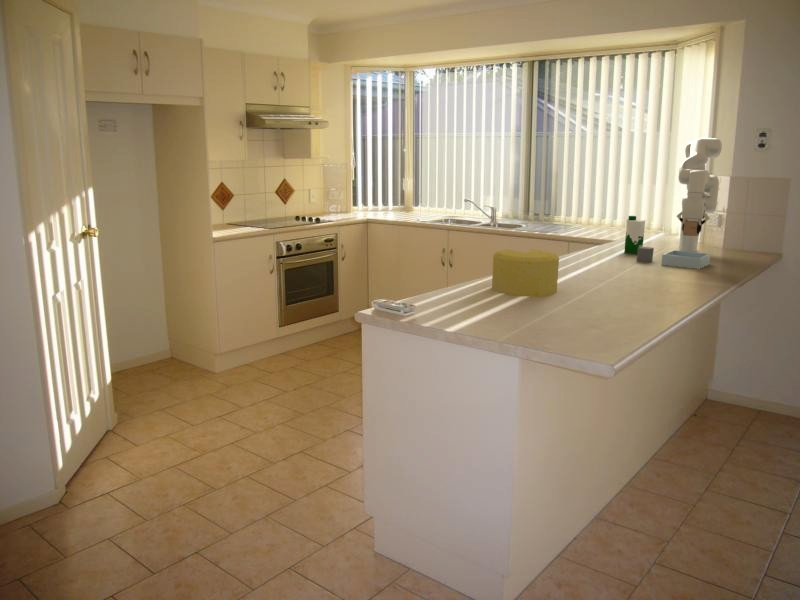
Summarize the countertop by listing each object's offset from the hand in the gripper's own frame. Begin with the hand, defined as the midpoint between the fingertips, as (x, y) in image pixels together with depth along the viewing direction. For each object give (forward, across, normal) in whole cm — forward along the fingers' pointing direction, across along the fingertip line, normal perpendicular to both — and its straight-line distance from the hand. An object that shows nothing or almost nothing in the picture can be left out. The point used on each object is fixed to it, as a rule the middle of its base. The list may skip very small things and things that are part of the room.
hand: (691, 232), depth 341 cm
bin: (+16, 0, +4) cm, 16 cm away
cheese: (+17, +33, +111) cm, 117 cm away
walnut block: (+1, 0, 0) cm, 1 cm away
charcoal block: (+16, +19, +8) cm, 26 cm away
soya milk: (+16, +33, -15) cm, 40 cm away
